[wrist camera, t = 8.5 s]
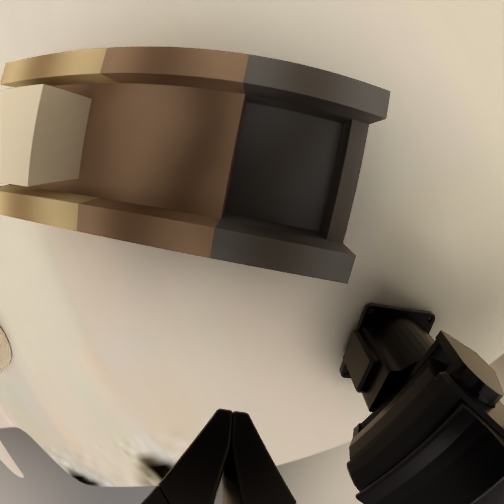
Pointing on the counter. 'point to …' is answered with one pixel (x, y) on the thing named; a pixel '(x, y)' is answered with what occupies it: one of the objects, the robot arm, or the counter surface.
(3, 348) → the white cup
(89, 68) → the channel
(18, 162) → the cream block
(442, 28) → the counter surface
